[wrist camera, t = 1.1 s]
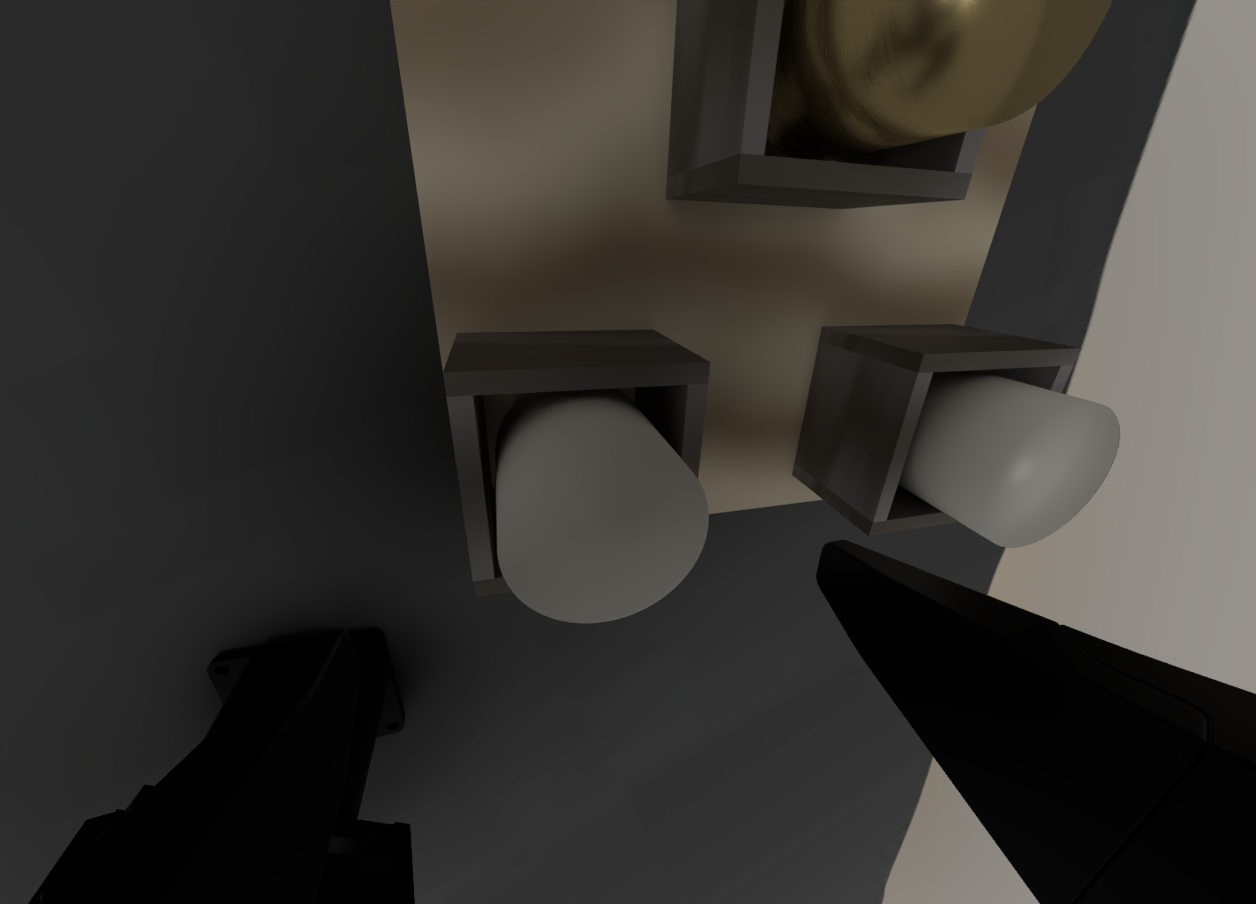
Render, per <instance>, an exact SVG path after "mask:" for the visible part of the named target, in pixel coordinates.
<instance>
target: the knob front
mask: <svg viewBox="0 0 1256 904" xmlns="http://www.w3.org/2000/svg"><path fill="white" fill-rule="evenodd" d="M495 465H496V516H497V556H498V561H499V566H500V569H501V572H502V575H503V577H504V579H505V581H506V583H507V585H508V586H509V588H510V589H511V590H512V592H513V593H514V594H515V595H516V596H517V598H519V599H520V600H521V601H522V602H523V603H524V604H525V605H527V606H528V607H530V608H531V609H533V610H534V611H536V612H538V613H540V614H542V615H545V616H547V617H550V618H553V619H556V620H560V621H565V622H571V623H600V622H607V621H612V620H616V619H620V618H623V617H626V616H629V615H632V614H635V613H637V612H639V611H641V610H644V609H646V608H647V607H649V606H651V605H653V604H655V603H656V602H658V601H659V600H660V599H662V598H663V597H665V596H666V595H667V594H668V593H670V592H671V591H672V590H673V589H674V588H676V586H677V585H678V584H679V583H680V582H681V581H682V580H683V579H684V578H685V577H686V576H687V574H688V573H689V572H690V570H691V569H692V567H693V566H694V564H695V563H696V561H697V559H698V557H699V555H700V553H701V551H702V549H703V546H704V543H705V540H706V536H707V531H708V523H709V512H708V503H707V500H706V496H705V493H704V490H703V488H702V486H701V483H700V482H699V480H698V479H697V477H696V476H695V474H694V473H693V472H692V471H691V469H690V468H689V467H688V466H687V465H686V464H685V462H684V461H683V460H682V459H681V458H680V457H679V455H678V454H677V453H676V452H675V451H674V450H673V448H672V447H671V446H670V445H669V444H668V443H667V441H666V440H665V439H664V438H663V437H662V436H661V434H660V433H659V432H658V431H657V430H656V429H655V427H654V426H653V425H652V424H651V423H650V422H649V420H648V419H647V418H646V417H645V416H644V415H643V413H642V412H641V411H640V410H639V409H638V408H637V406H636V405H635V404H634V403H633V402H632V401H631V400H630V398H629V397H628V396H626V395H625V394H624V393H623V392H622V391H620V390H619V389H617V388H613V389H593V390H574V391H554V392H534V393H527V394H525V395H524V396H523V397H522V398H521V399H519V400H518V401H517V402H516V403H515V404H514V405H513V407H512V408H511V409H510V410H509V412H508V413H507V415H506V416H505V418H504V420H503V422H502V424H501V426H500V428H499V431H498V435H497V439H496V446H495Z"/></svg>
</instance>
